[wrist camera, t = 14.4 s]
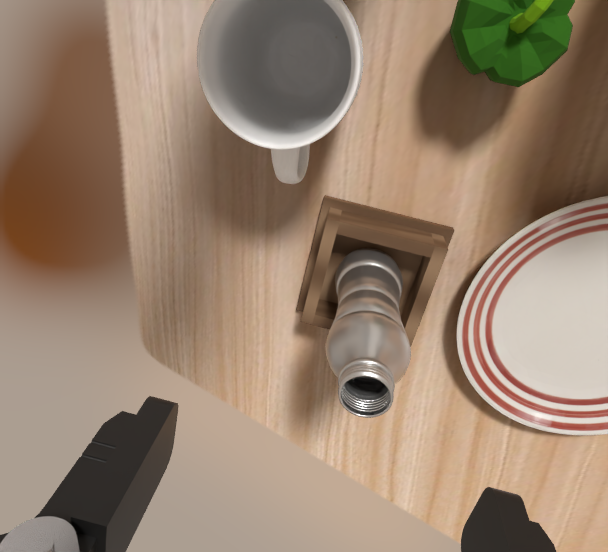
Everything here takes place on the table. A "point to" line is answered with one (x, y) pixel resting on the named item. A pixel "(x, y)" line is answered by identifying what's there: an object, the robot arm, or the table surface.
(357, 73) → the mug
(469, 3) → the bell pepper
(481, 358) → the dinner plate
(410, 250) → the bottle stand
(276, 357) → the table surface
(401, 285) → the plastic bottle
